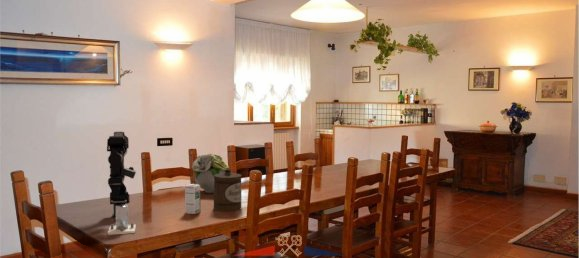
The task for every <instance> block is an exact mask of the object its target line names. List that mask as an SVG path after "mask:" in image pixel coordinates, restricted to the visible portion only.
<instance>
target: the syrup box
mask: <svg viewBox="0 0 579 258" xmlns="http://www.w3.org/2000/svg"><path fill="white" fill-rule="evenodd" d="M184 199H185V200H184V205H185V210H184V211H185V214H190V215H196V214H199V213H201V209H202V208H201V207H202V205H201V188H200V185H199V184H196V183H190V184H187V185H185V186H184Z"/></svg>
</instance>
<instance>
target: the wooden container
mask: <svg viewBox="0 0 579 258" xmlns="http://www.w3.org/2000/svg"><path fill="white" fill-rule="evenodd" d="M231 170H232V169H231V168H230V167H228V168H226V169H225V171H226V172H225V173H220V174H216V175H214V193H213V209H214V210H215V211H218V210H219V212H235V211H238V209H239V210H240V208H241V209H242V174H240V173H234V172H233V173H232V171H231ZM234 210H235V211H234Z"/></svg>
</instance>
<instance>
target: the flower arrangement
mask: <svg viewBox="0 0 579 258" xmlns="http://www.w3.org/2000/svg"><path fill="white" fill-rule="evenodd" d="M226 168H230V167H229V165H227V163H226V162H225V161H224V160H223V157H222V156H221V155H217V154H213V153H205V154H202V155H198V156H197V157H196V159H195V160H194V161H193V163H192V166H191V169H192V170H193V171H194V181H195V184H199V185H200V189H202V190H204V192H205V193H207V194H214V175H216V174H220V173H225V172H226V171H225V169H226Z"/></svg>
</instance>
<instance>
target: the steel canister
mask: <svg viewBox="0 0 579 258" xmlns="http://www.w3.org/2000/svg"><path fill="white" fill-rule="evenodd" d="M128 225H129V205H128V204H125V205H117V206H116V217H115V226H116V229H117V230H120V226H123V230H125V229H128Z"/></svg>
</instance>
